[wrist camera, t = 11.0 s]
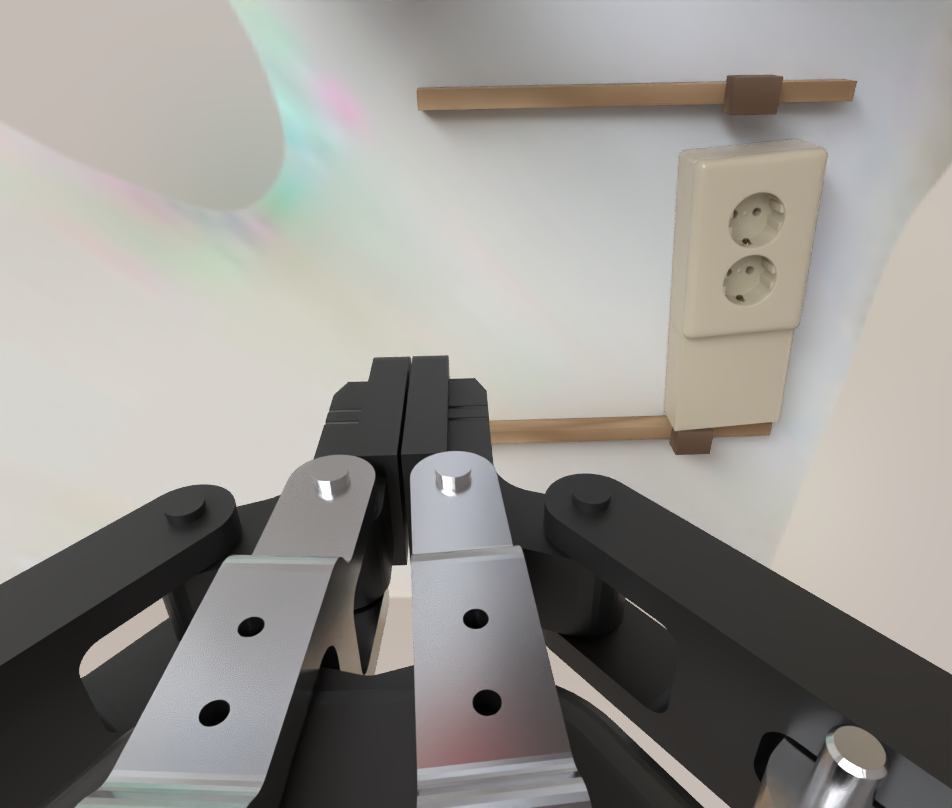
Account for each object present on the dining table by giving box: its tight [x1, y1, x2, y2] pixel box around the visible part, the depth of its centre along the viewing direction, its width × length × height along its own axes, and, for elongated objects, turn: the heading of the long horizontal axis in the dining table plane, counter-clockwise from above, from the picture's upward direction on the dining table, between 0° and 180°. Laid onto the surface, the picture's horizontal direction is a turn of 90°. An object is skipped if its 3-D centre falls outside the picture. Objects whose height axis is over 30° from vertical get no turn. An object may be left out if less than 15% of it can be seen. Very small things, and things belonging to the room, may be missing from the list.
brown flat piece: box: [417, 75, 857, 455], centre depth 41 cm, size 24×24×3 cm
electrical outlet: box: [664, 139, 828, 431], centre depth 42 cm, size 7×4×18 cm
